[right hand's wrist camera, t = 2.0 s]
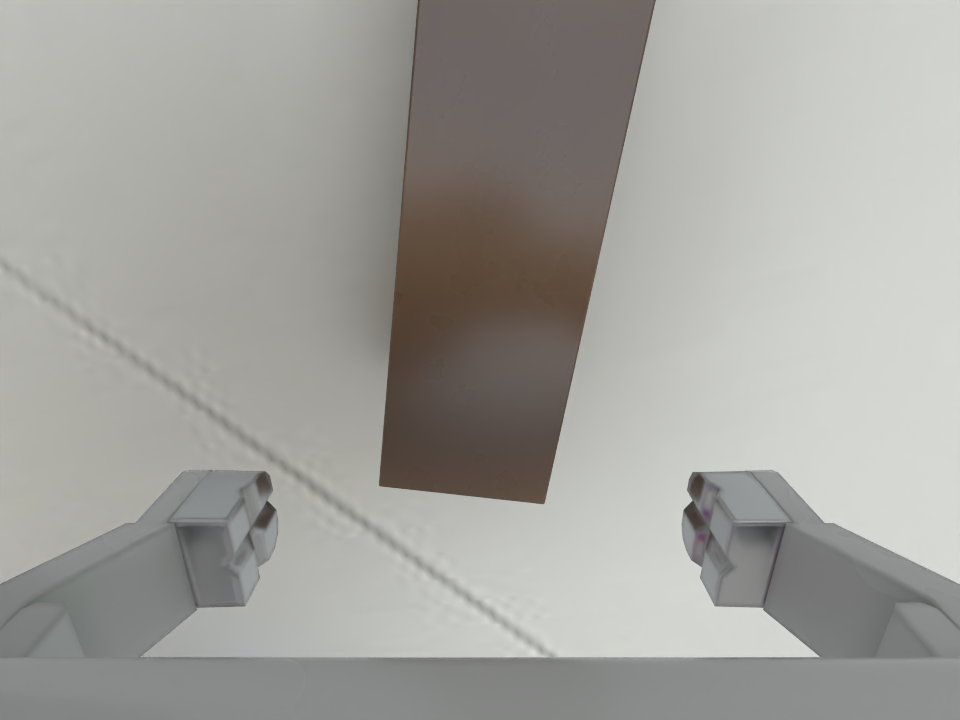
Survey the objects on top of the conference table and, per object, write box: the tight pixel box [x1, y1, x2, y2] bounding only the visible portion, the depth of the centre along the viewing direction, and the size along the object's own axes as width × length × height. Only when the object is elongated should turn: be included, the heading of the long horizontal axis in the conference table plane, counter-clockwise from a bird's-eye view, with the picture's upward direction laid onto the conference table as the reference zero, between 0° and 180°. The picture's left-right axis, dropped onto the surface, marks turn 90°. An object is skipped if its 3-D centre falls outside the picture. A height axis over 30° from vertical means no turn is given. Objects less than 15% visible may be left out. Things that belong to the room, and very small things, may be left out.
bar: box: [379, 0, 656, 504], centre depth 17 cm, size 25×5×9 cm, turn 172°
